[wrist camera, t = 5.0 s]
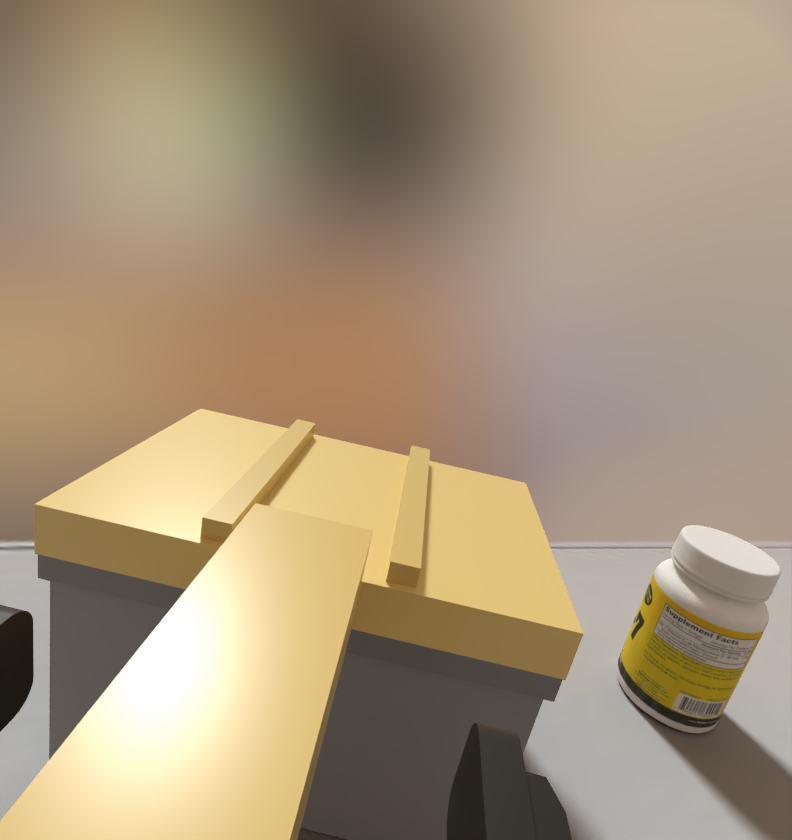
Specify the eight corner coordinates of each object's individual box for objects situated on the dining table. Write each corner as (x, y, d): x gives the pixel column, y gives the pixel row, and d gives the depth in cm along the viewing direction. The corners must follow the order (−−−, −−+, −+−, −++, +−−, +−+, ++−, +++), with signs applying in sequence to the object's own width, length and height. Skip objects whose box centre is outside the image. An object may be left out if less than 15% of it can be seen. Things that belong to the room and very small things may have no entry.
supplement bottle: (635, 645, 28) (692, 512, 26) (727, 706, 25) (802, 562, 23) (597, 681, 25) (658, 533, 23) (698, 756, 22) (781, 594, 20)
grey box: (38, 769, 16) (37, 553, 14) (183, 590, 25) (197, 440, 23) (484, 881, 16) (562, 678, 13) (469, 658, 25) (515, 514, 22)
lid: (-516, 936, 6) (-617, 741, 5) (197, 440, 23) (203, 375, 22) (740, 1273, 5) (874, 1125, 5) (516, 513, 22) (535, 451, 22)
